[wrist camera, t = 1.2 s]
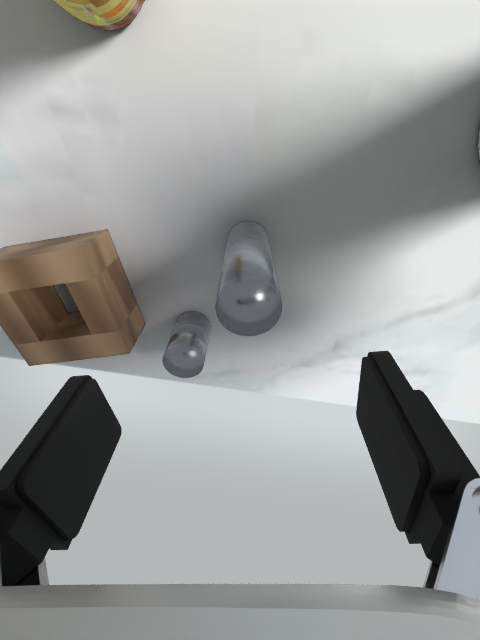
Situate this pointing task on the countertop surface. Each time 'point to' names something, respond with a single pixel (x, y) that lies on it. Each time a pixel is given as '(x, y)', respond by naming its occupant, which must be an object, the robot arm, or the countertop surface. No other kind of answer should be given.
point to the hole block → (86, 290)
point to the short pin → (187, 345)
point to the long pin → (248, 282)
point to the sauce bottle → (103, 12)
